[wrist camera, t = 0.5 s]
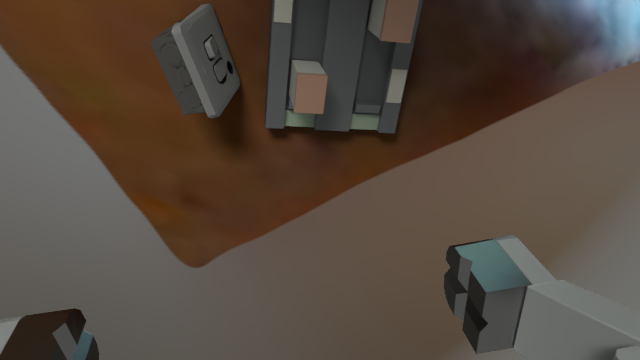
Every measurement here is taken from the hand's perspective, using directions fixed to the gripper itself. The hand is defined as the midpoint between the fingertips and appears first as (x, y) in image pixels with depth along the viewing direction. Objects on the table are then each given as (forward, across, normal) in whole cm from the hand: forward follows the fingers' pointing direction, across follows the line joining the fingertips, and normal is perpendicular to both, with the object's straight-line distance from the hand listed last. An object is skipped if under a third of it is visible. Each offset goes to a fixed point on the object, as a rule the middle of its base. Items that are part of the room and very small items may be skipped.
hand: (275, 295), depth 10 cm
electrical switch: (+44, +5, +4) cm, 44 cm away
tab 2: (+42, -15, +2) cm, 44 cm away
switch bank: (+44, -10, +5) cm, 45 cm away
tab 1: (+42, -6, +8) cm, 43 cm away
